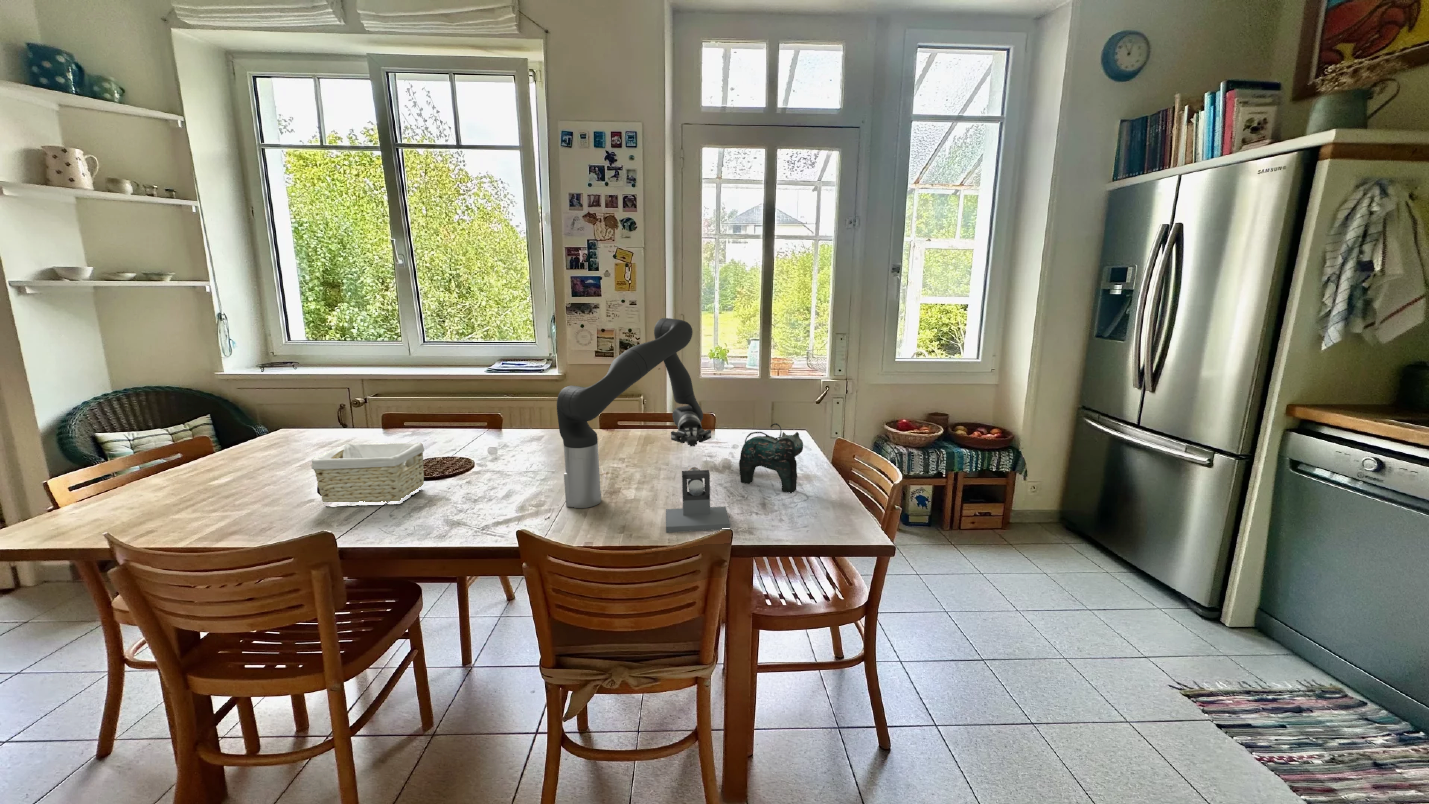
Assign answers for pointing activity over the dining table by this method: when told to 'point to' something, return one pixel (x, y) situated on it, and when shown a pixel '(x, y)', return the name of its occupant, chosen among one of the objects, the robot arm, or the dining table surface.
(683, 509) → the base plate
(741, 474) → the ceramic cat
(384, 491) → the storage basket
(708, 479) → the rubber collar
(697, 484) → the steel peg
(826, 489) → the dining table surface
